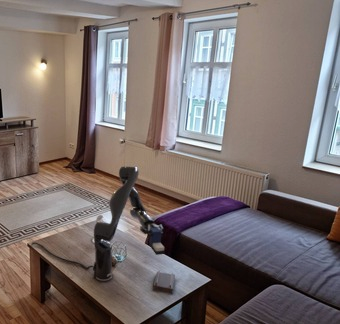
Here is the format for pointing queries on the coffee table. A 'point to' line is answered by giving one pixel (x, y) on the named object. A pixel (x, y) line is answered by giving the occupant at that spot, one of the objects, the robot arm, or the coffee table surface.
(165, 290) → the wooden base with rails
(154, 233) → the blue rectangular block
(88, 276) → the coffee table surface
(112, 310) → the coffee table surface
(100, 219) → the female figurine
